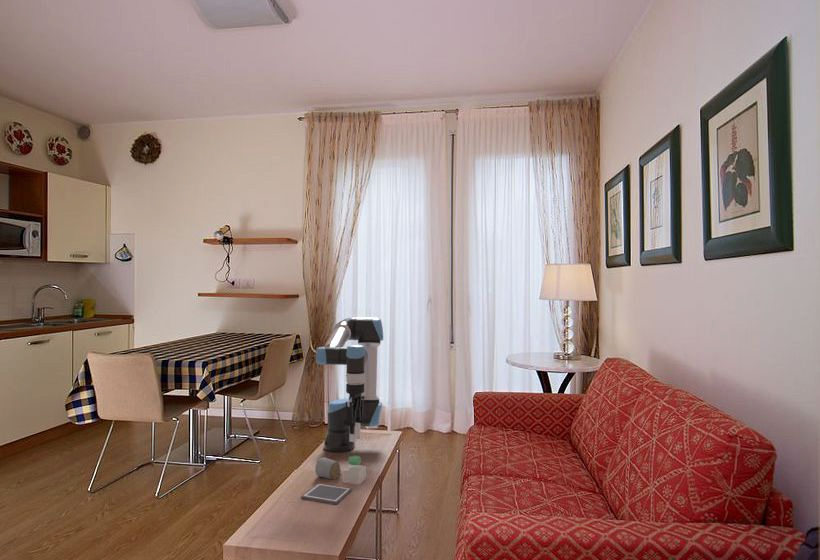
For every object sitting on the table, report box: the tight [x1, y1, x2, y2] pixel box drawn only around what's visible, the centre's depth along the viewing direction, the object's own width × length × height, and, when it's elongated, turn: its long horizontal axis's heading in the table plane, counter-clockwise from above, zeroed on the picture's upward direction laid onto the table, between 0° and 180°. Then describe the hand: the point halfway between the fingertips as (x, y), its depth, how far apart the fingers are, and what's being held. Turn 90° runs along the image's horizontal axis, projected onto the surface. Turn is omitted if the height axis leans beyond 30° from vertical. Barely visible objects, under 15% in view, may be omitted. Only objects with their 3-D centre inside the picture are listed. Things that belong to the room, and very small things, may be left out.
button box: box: [342, 464, 367, 486], centre depth 200 cm, size 7×7×5 cm
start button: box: [348, 455, 362, 465], centre depth 200 cm, size 5×5×2 cm
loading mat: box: [300, 482, 353, 505], centre depth 186 cm, size 13×15×1 cm
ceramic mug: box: [314, 456, 342, 480], centre depth 204 cm, size 11×8×8 cm
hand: (354, 439), depth 200 cm, fingers open, 3 cm apart
